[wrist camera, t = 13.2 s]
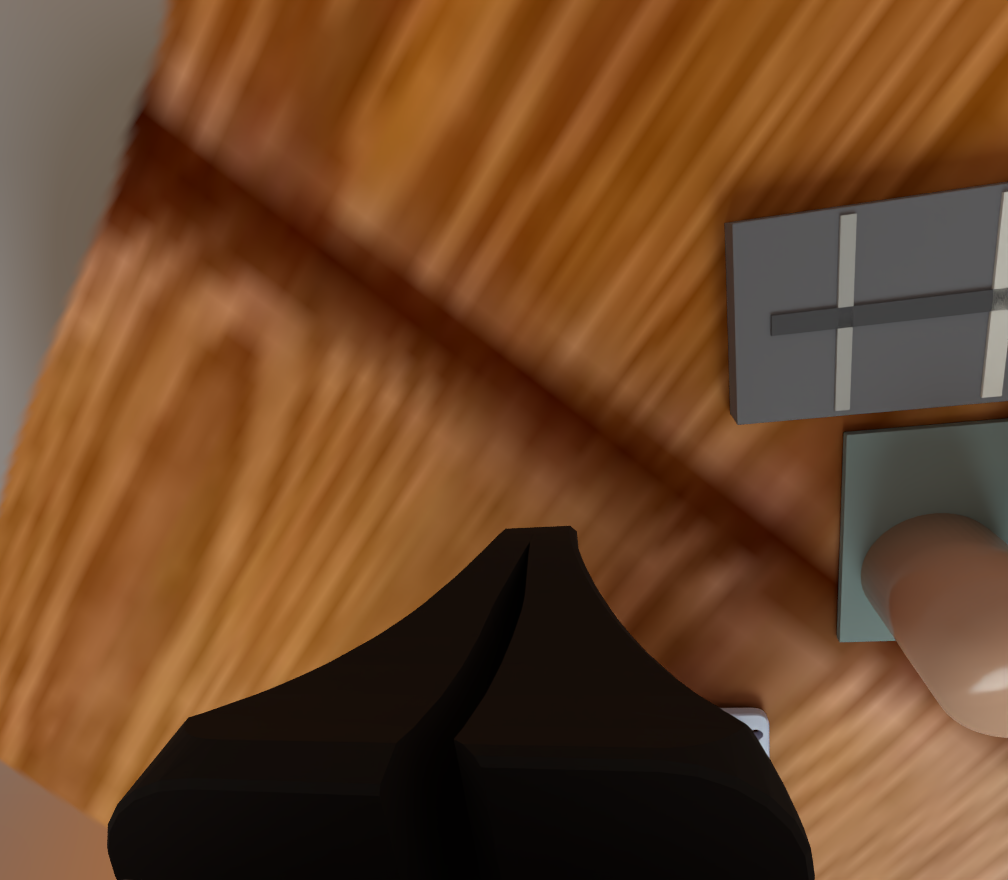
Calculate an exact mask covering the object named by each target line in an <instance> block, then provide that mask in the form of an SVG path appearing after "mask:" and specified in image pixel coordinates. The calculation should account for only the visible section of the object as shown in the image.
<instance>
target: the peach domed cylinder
mask: <svg viewBox="0 0 1008 880" xmlns="http://www.w3.org/2000/svg"><path fill="white" fill-rule="evenodd" d="M861 584H862V589H863V591H864V594H865V596H866V598H867V599H868V601H869V602H870V604H871V605H872V607H873V608H874V610H875V611H876V613H877V614H878V616H879V617H880V618H881V620H882V621H883V623H884V624H885V626H886V627H887V629H888V630H889V632H890V633H891V634H892V636H893V637H894V639H895V640H896V642H897V643H898V645H899V646H900V648H901V649H902V650H903V652H904V653H905V655H906V656H907V658H908V659H909V661H910V662H911V664H912V665H913V666H914V668H915V669H916V671H917V672H918V674H919V675H920V677H921V678H922V680H923V681H924V683H925V684H926V685H927V687H928V688H929V690H930V691H931V693H932V694H933V696H934V697H935V699H936V700H937V701H938V703H939V704H940V706H941V707H942V708H943V710H944V711H945V712H946V713H947V714H948V715H949V716H950V717H951V718H952V719H954V720H955V721H956V722H958V723H959V724H961V725H963V726H965V727H967V728H969V729H971V730H973V731H976V732H979V733H982V734H986V735H990V736H997V737H1006V738H1008V544H1007V543H1005V542H1004V541H1003V540H1002V539H1001V538H999V537H998V536H997V535H996V534H994V533H993V532H992V531H991V530H990V529H988V528H987V527H986V526H984V525H983V524H981V523H980V522H978V521H976V520H974V519H971V518H968V517H966V516H962V515H957V514H949V513H934V514H926V515H921V516H917V517H914V518H911V519H908V520H905V521H903V522H901V523H899V524H897V525H895V526H894V527H892V528H890V529H889V530H888V531H886V532H885V533H883V534H882V535H881V536H880V537H879V538H878V539H877V540H876V541H875V542H874V544H873V545H872V546H871V548H870V549H869V551H868V552H867V554H866V556H865V559H864V561H863V565H862V569H861Z"/></svg>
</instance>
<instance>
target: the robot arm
mask: <svg viewBox="0 0 1008 880" xmlns="http://www.w3.org/2000/svg"><path fill="white" fill-rule="evenodd" d="M752 730H759V731H758V732H753V731H752ZM107 848H108V854H109V857H110V861H111V864H112V867H113V870H114V874H115V877H116V879H117V880H815V874H814V866H813V859H812V853H811V847H810V844H809V841H808V839H807V836H806V833H805V830H804V827H803V825H802V823H801V820H800V818H799V816H798V814H797V811H796V809H795V807H794V805H793V803H792V801H791V799H790V796H789V794H788V792H787V790H786V788H785V786H784V784H783V782H782V780H781V779H780V777H779V775H778V773H777V771H776V769H775V768H774V766H773V764H772V762H771V760H770V751H769V721H768V718H767V715H766V713H765V712H764V711H763V710H761V709H759V708H719V707H717V706H716V705H714V704H712V703H711V702H709V701H707V700H706V699H704V698H702V697H701V696H699V695H698V694H696V693H695V692H693V691H692V690H691V689H689V688H688V687H687V686H685V685H684V684H682V683H681V682H680V681H678V680H677V679H676V678H675V677H674V676H673V675H671V674H670V673H669V672H668V671H667V670H666V669H665V668H664V667H663V666H661V665H660V664H659V663H658V662H657V661H656V660H655V659H654V658H652V657H651V656H650V655H649V654H648V653H647V652H646V651H645V650H644V649H643V648H642V647H641V646H640V644H639V643H638V642H637V641H636V640H635V639H634V638H633V637H632V636H631V635H630V633H629V632H628V631H627V630H626V629H625V627H624V626H623V625H622V624H621V623H620V621H619V620H618V619H617V617H616V616H615V615H614V613H613V612H612V611H611V609H610V608H609V606H608V605H607V603H606V602H605V600H604V599H603V597H602V596H601V594H600V592H599V591H598V589H597V587H596V586H595V584H594V582H593V580H592V578H591V576H590V574H589V572H588V570H587V568H586V567H585V564H584V562H583V560H582V557H581V554H580V552H579V549H578V540H577V531H576V530H574V529H573V528H572V527H571V526H557V527H534V528H512V529H505V530H504V531H503V532H501V533H500V534H499V535H498V536H497V537H496V538H495V539H494V540H493V541H492V542H491V543H490V544H489V545H488V546H487V547H486V548H485V549H484V550H483V551H482V552H481V553H480V554H479V555H478V556H477V557H476V558H475V559H474V560H473V561H472V562H471V563H470V564H469V565H468V566H467V567H465V568H464V569H463V570H462V571H461V572H460V573H459V574H458V575H457V576H456V577H455V578H454V579H452V580H451V581H450V582H449V583H448V584H446V585H445V586H444V587H443V588H442V589H441V590H439V591H438V592H437V593H436V594H435V595H433V596H432V597H431V598H430V599H429V600H427V601H426V602H425V603H424V604H423V605H421V606H420V607H419V608H417V609H416V610H415V611H413V612H412V613H411V614H409V615H408V616H406V617H405V618H404V619H402V620H401V621H399V622H398V623H396V624H395V625H393V626H392V627H390V628H389V629H387V630H386V631H384V632H383V633H381V634H379V635H378V636H376V637H374V638H373V639H371V640H369V641H367V642H366V643H364V644H362V645H360V646H358V647H357V648H355V649H353V650H351V651H349V652H348V653H346V654H344V655H342V656H340V657H339V658H337V659H335V660H333V661H331V662H329V663H327V664H325V665H323V666H321V667H319V668H317V669H315V670H313V671H310V672H308V673H306V674H304V675H302V676H300V677H297V678H295V679H293V680H290V681H288V682H286V683H283V684H281V685H279V686H276V687H274V688H271V689H269V690H266V691H264V692H261V693H259V694H256V695H253V696H250V697H248V698H245V699H242V700H239V701H236V702H233V703H230V704H228V705H225V706H222V707H219V708H216V709H213V710H211V711H208V712H205V713H202V714H199V715H195V716H192V717H189V718H188V719H187V720H186V721H185V722H184V724H183V725H182V726H181V727H180V728H179V730H178V731H177V732H176V733H175V735H174V736H173V737H172V738H171V739H170V741H169V742H168V743H167V744H166V746H165V747H164V748H163V749H162V750H161V752H160V753H159V754H158V755H157V757H156V758H155V759H154V760H153V762H152V763H151V764H150V765H149V766H148V768H147V769H146V770H145V771H144V773H143V774H142V775H141V776H140V777H139V779H138V780H137V781H136V782H135V784H134V785H133V786H132V787H131V788H130V790H129V791H128V792H127V793H126V795H125V796H124V797H123V798H122V800H121V801H120V802H119V803H118V804H117V806H116V808H115V810H114V813H113V815H112V817H111V819H110V821H109V823H108V840H107Z"/></svg>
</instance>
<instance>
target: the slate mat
mask: <svg viewBox="0 0 1008 880" xmlns="http://www.w3.org/2000/svg"><path fill="white" fill-rule="evenodd" d="M934 513H949V514H957V515H962V516H966V517H968V518H971V519H974V520H976V521H978V522H980V523H981V524H983V525H984V526H986V527H987V528H988V529H990V530H991V531H992V532H993V533H994V534H996V535H997V536H998V537H999V538H1001V539H1002V540H1003V541H1004V542H1005V543H1007V544H1008V418H1005V419H993V420H981V421H969V422H957V423H945V424H933V425H921V426H910V427H898V428H886V429H874V430H862V431H850V432H844V435H843V465H842V495H841V525H840V556H839V586H838V616H837V638H838V640H839V642H864V641H896V640H895V639H894V637H893V636H892V634H891V633H890V632H889V630H888V629H887V627H886V626H885V624H884V623H883V621H882V620H881V618H880V617H879V616H878V614H877V613H876V611H875V610H874V608H873V607H872V605H871V604H870V602H869V601H868V599H867V598H866V596H865V594H864V591H863V589H862V584H861V569H862V565H863V561H864V559H865V556H866V554H867V552H868V551H869V549H870V548H871V546H872V545H873V544H874V542H875V541H876V540H877V539H878V538H879V537H880V536H881V535H882V534H883V533H885V532H886V531H888V530H889V529H890V528H892V527H894V526H895V525H897V524H899V523H901V522H903V521H905V520H908V519H911V518H914V517H917V516H921V515H926V514H934Z"/></svg>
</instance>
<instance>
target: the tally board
mask: <svg viewBox="0 0 1008 880" xmlns="http://www.w3.org/2000/svg"><path fill="white" fill-rule="evenodd" d="M725 253H726V287H727V321H728V355H729V389H730V414H731V415H732V417H733V418H734V420H735V421H736V423H737V425H741V424H752V423H764V422H775V421H786V420H798V419H809V418H820V417H832V416H843V415H854V414H865V413H877V412H888V411H899V410H911V409H922V408H933V407H945V406H956V405H967V404H979V403H990V402H1001V401H1008V182H1001V183H994V184H987V185H981V186H974V187H967V188H960V189H953V190H947V191H940V192H933V193H926V194H919V195H912V196H906V197H899V198H892V199H885V200H878V201H871V202H865V203H858V204H851V205H844V206H837V207H830V208H824V209H817V210H810V211H803V212H796V213H790V214H783V215H776V216H769V217H762V218H755V219H749V220H742V221H735V222H728V223H725Z"/></svg>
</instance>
